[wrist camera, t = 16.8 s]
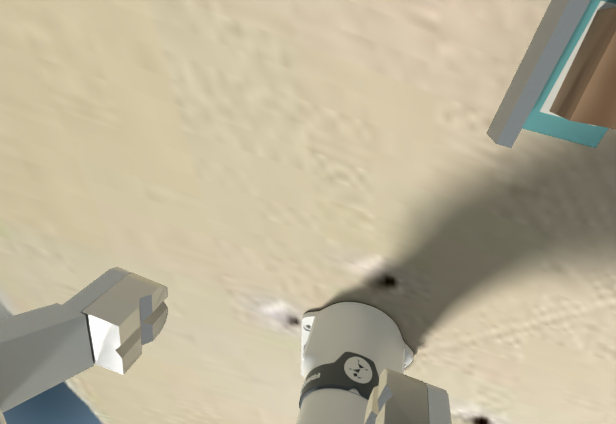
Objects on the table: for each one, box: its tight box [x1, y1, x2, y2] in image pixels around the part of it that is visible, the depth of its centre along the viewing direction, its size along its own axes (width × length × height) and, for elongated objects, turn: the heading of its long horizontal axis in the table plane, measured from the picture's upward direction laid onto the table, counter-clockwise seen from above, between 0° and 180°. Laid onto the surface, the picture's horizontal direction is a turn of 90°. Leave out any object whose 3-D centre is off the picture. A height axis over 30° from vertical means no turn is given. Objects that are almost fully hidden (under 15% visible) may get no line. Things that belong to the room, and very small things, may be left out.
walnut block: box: [549, 7, 616, 129], centre depth 30 cm, size 4×9×5 cm, turn 172°
